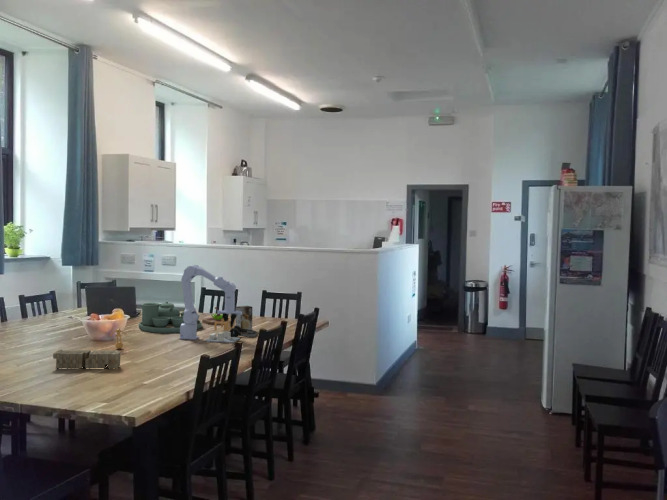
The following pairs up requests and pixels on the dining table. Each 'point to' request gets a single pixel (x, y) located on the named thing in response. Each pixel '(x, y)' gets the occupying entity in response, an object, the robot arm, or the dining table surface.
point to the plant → (214, 319)
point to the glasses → (225, 324)
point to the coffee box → (244, 317)
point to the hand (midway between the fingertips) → (229, 326)
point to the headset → (237, 332)
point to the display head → (222, 337)
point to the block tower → (87, 358)
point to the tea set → (162, 318)
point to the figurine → (118, 344)
